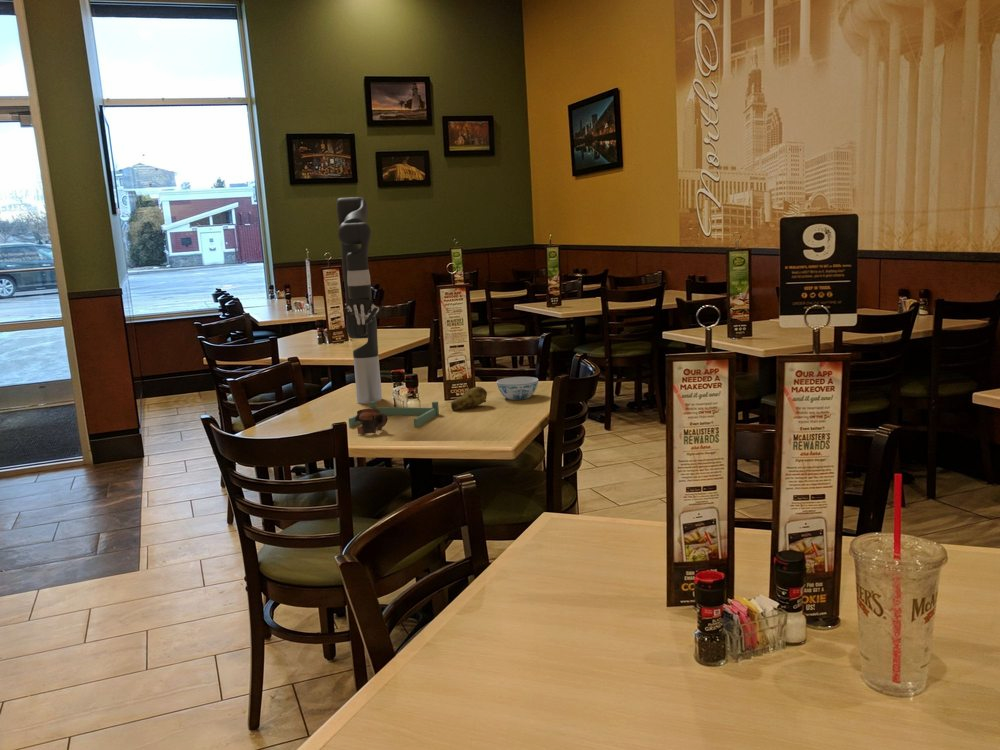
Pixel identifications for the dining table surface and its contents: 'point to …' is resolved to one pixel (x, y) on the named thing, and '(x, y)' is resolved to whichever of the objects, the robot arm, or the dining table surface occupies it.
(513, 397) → the chinaware
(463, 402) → the olive green tapered lump
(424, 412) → the teal bars
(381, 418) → the pottery mug
